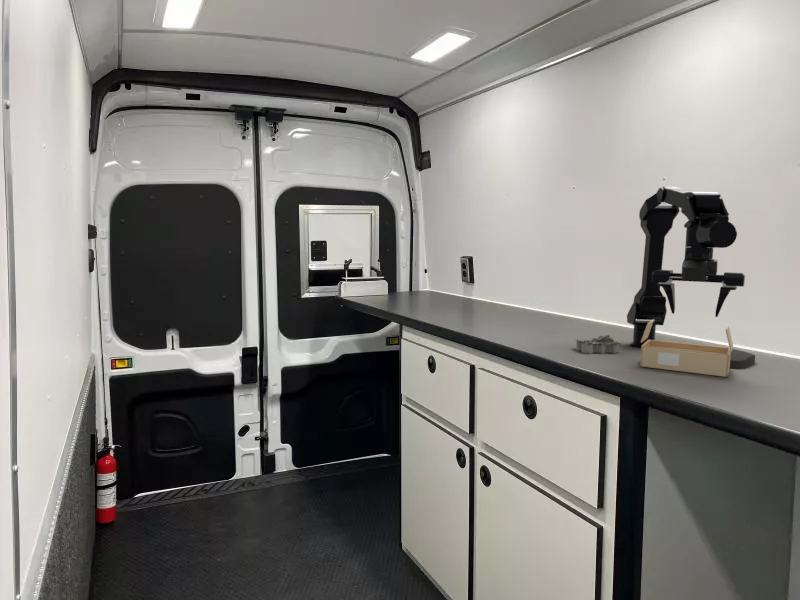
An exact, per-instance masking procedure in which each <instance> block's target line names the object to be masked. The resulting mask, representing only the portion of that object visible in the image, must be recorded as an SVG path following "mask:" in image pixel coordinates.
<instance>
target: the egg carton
mask: <svg viewBox="0 0 800 600" xmlns="http://www.w3.org/2000/svg"><path fill="white" fill-rule="evenodd" d="M574 342H576V343H575V345H576V346H575V350H576V351H581V352H582V353H584V354H586V353H587V354H594V353H598V354H599V353H600V354H605V353H609V354H610V353H611V354H617V353H619V351H620V350H619V349H620V345H622V343H620V342H619V341H615V340H614V339H613V337H611V336H610V334H608V335H607V334H604V335H599V336H598V337H597V338H595V337H593V338H591V339H582V340H580V339H574Z"/></svg>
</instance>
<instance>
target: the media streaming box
mask: <svg viewBox="0 0 800 600" xmlns="http://www.w3.org/2000/svg"><path fill="white" fill-rule="evenodd" d="M755 362H756V355H755V354H753V353H751V352H747V351H743V350H739V349H735V348H733V349H732V351H731V357H730V369H735V370H736V369H745V368H748V367H750V366H751V367H752V365H754V364H755Z"/></svg>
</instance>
